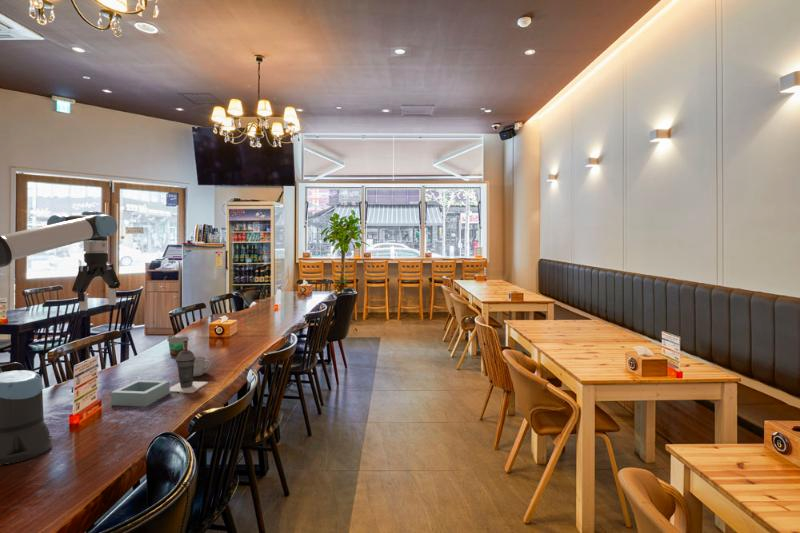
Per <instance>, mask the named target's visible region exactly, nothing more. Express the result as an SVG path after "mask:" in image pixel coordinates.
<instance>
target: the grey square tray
mask: <svg viewBox="0 0 800 533" xmlns="http://www.w3.org/2000/svg"><path fill="white" fill-rule="evenodd" d="M170 387H171V386H170V380H145V379H144V380H143V379H142V380H141V379H139V380H138V379H136V380H134V381H133V382H131V383H128V384H126V385H123V386H122V387H119V388H118V389H114V390H113V391H111V392H110V400H111V401H110V402H111V403H110V404H111V406H125V407H144V408H145V407H148V406H149V405H151V404H153V403H155V402H157V401H159V400H160V399H162V398H164V397H166V396H167V395H170V393H171V392H170ZM158 399H159V400H158Z"/></svg>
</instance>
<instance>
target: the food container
mask: <svg viewBox="0 0 800 533" xmlns="http://www.w3.org/2000/svg"><path fill="white" fill-rule="evenodd" d="M166 340H167V342H168V347H169V355H170V356H171V355H173V356H172V357H177V355H178V354H179V353H180V352H181V351H183V344H182V340H183V342H184V349H185V350H188V344H189V343H188V342H189V341H190V339H189V336H188V335H187V336H173V335H172V334H170V335H168V337H167V339H166Z"/></svg>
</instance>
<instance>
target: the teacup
mask: <svg viewBox="0 0 800 533" xmlns="http://www.w3.org/2000/svg"><path fill="white" fill-rule="evenodd" d="M194 356H195V362H194V372H193V377H199V376H203V375H204V374H205V373H206V371H207V370H209V369H210V367H211V365H212V362H211V361H210V359H208V356H205V355H194Z"/></svg>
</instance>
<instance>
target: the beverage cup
mask: <svg viewBox="0 0 800 533" xmlns="http://www.w3.org/2000/svg"><path fill="white" fill-rule="evenodd" d="M182 344H183V351H181V352H180V353H179V354H178V355H177V356H176V359H175V362H176V365H177V372H178V378H179V383H180V386H181V388H189V387H191V386H192V384H193V381H194V376H193V372H194V362H195V356H196V355H195V353H193V352H192V351H191V349H187V350H185V349H184V342H183V340H182Z"/></svg>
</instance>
